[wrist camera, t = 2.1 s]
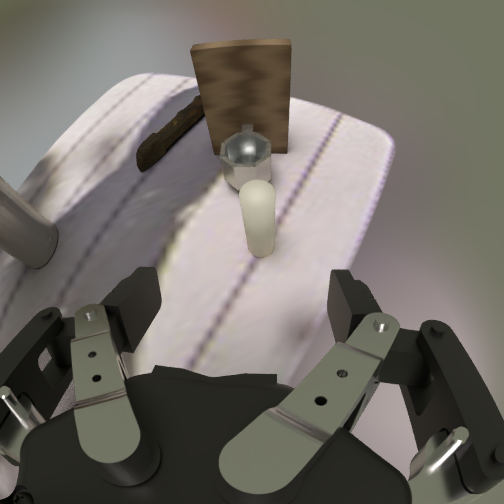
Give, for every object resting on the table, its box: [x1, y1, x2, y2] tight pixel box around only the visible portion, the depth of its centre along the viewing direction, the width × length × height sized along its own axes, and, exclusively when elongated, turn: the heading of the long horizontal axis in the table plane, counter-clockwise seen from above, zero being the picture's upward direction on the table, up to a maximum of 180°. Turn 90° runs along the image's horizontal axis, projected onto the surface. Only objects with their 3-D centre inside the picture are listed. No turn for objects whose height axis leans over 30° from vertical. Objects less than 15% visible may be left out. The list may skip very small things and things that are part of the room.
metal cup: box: [220, 124, 271, 190], centre depth 38 cm, size 7×9×5 cm
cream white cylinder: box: [239, 180, 276, 258], centre depth 32 cm, size 4×4×12 cm
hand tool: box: [136, 95, 204, 171], centre depth 45 cm, size 19×4×5 cm, turn 146°
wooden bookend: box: [190, 39, 291, 155], centre depth 36 cm, size 12×6×20 cm, turn 88°
